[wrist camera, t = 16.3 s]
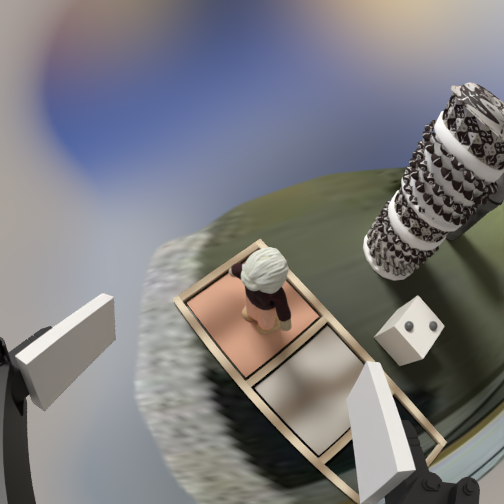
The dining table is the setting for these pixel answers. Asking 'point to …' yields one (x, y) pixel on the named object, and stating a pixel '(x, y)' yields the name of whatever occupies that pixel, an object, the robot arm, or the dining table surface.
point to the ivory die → (410, 332)
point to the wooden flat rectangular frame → (289, 363)
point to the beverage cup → (481, 210)
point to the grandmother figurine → (265, 290)
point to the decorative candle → (440, 183)
